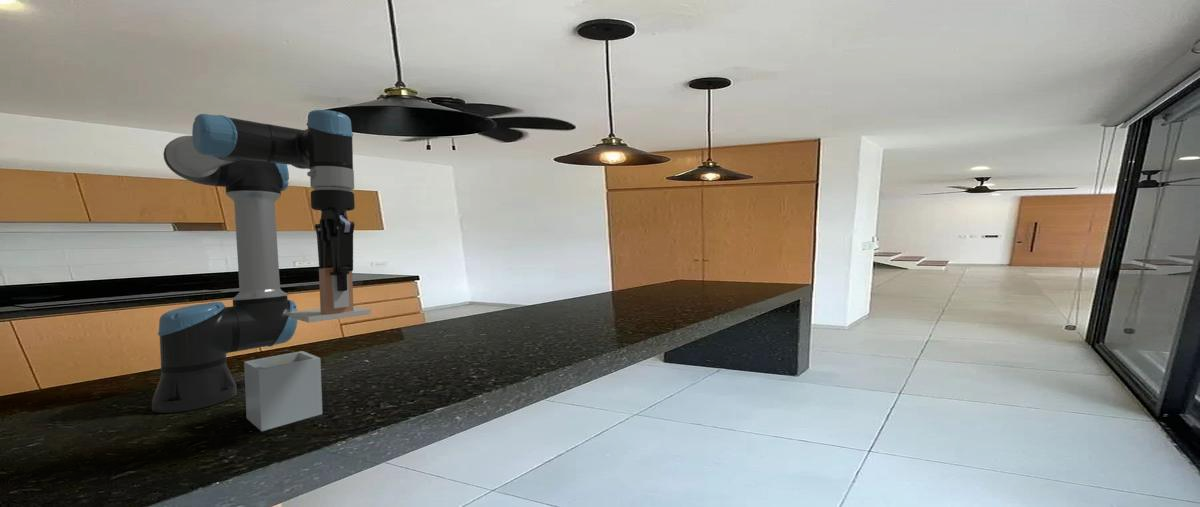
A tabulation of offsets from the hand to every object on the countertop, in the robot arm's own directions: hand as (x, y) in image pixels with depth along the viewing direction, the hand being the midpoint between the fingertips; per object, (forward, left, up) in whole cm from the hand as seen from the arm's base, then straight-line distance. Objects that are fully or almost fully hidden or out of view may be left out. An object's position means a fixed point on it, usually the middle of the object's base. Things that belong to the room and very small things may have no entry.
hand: (337, 306), depth 89 cm
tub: (-17, -5, -25) cm, 31 cm away
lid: (-4, 0, -2) cm, 4 cm away
